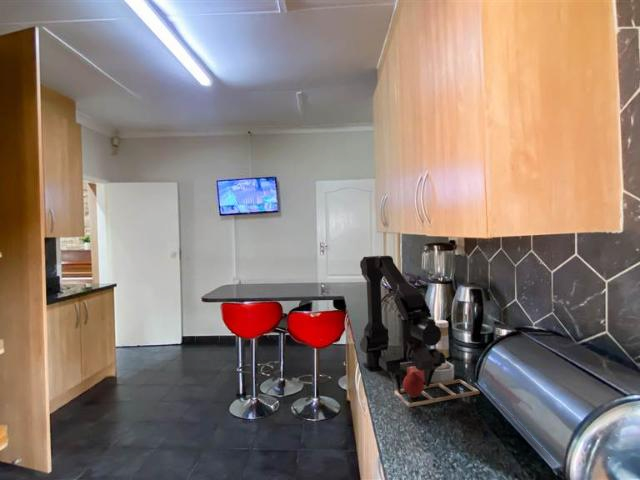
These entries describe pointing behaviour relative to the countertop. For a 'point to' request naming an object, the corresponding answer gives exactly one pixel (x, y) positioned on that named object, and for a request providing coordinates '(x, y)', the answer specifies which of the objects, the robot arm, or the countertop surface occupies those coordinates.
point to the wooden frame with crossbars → (440, 397)
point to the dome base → (435, 374)
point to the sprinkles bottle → (443, 337)
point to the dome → (443, 366)
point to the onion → (413, 384)
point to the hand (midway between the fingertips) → (413, 388)
